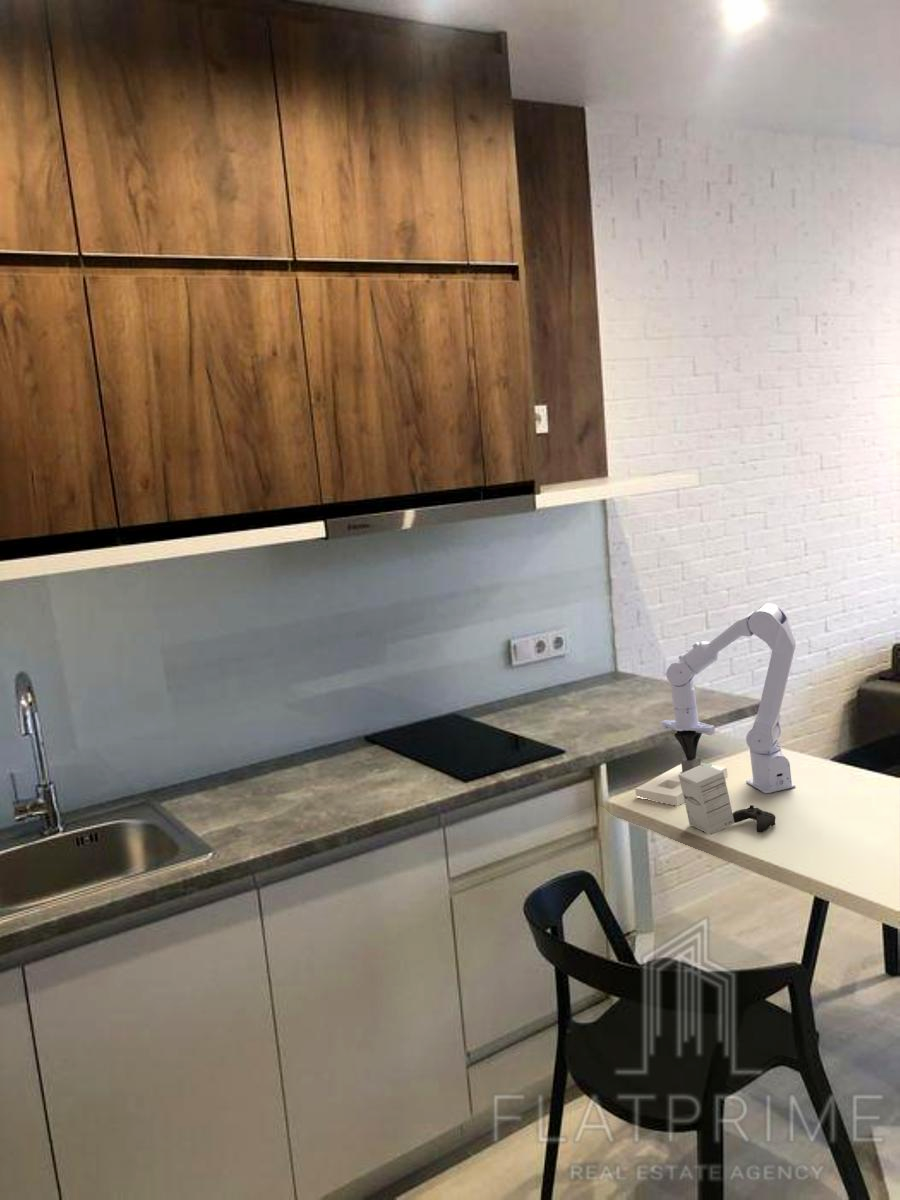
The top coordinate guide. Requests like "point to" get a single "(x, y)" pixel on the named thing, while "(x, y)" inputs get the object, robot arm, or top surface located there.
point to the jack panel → (668, 786)
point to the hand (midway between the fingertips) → (691, 758)
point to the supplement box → (706, 798)
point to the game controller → (755, 817)
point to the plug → (690, 763)
